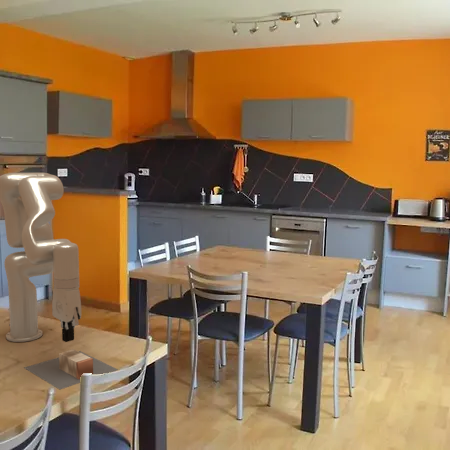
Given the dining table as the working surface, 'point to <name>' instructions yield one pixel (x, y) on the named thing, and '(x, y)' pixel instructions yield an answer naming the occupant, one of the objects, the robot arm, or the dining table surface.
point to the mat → (61, 378)
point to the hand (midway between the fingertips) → (68, 340)
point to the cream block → (75, 363)
